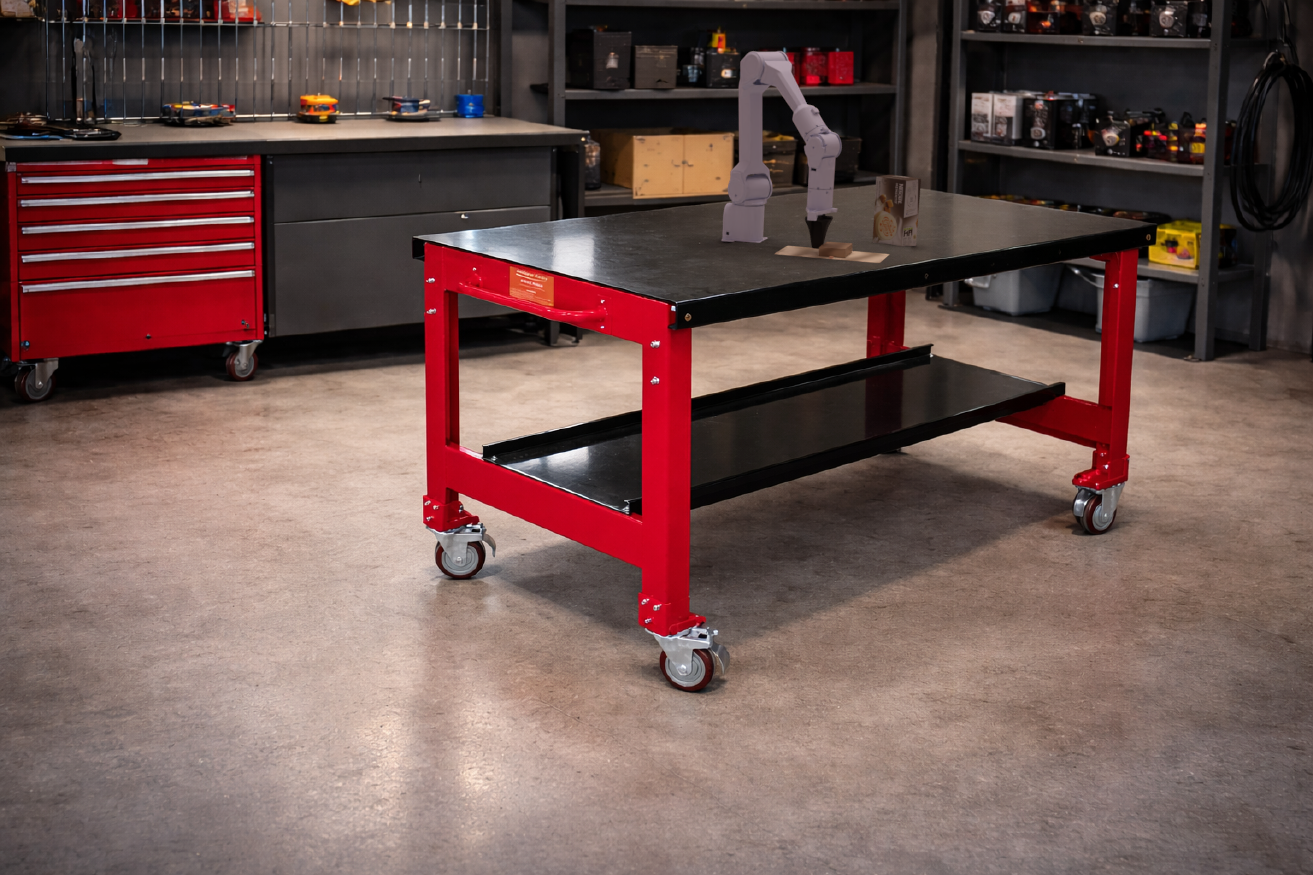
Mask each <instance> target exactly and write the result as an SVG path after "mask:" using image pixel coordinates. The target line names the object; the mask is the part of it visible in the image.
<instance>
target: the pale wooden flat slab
mask: <svg viewBox="0 0 1313 875" xmlns="http://www.w3.org/2000/svg"><path fill="white" fill-rule="evenodd" d="M774 255H780V256H790V257H803V258H814V259H827V260H838V261H839V260H840V261H850V262H863V263H871V264H881V263H882V262H883V261H884V260H885V259H886V258H887V257H888V256H890V254H889V253H880V252H868V251H857V250H856V251H855V250H854V251H853V250H852V253H850V254H849V255H848V256H847V257H845V258H840V257H834V256H830V257H825V256H819V249H814V248H812V247H808V246H807V247H805V246H794V245H787V246H784V247H783V248H781V249H780V250H778V251H776V252H775V253H774Z"/></svg>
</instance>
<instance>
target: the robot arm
mask: <svg viewBox="0 0 1313 875" xmlns="http://www.w3.org/2000/svg"><path fill="white" fill-rule="evenodd" d="M739 64H740V66H739V68H740V78H739V82H738V163H737V164H736V165H735V166H734V167H733V168H732V169H731V171H730V177H729V182H728V184H727V194H728V196H729V200H731V202H726V204H725V205H724V208H723V209H724V210H723V215H722V236H721V237H722V238H721V240H720V241H721V242H729V243H733V242H735V241H736V242H745V243H746V242H747V243H756V244H760V243H762V242H764V241H765V240H767V239H768V237H765V236H764V226H765V225H764V224H765V222H764V220H765V207H766V206H765V205H766V204H768V199H770V198H771V196H772V194H773V183H772V179H771V176H770V175H771V174H770V171H771V170H770V168H768V167H767V165H765V163H764V162H763V94H764V93H765V92H766V90H767V89H768V88H769V87H770V86H772V87H774V88H776V90H778V92H779V94H780V95H781V96H782V97H783V99H784V100H785V102H786V103H787V105H788V106H789V108H790V109H791V110H792V112H793V114H792V122H793V123H794V125H795V127H796V129H797V130H798V132H799V134H800V136H801V138H802V139H803V141H804V142H805V145H804V146H803V149H804V154H805V156H806V158H807V165H808V181H807V182H808V184H807V185H808V186H807V195H806V196H807V198H806V199H807V200H806V207H805V212H806V213H807V216H805V217H804V221H805V223H806V225H807V228H808V232H809V238H810V244H811V248H814V249H819V247H820V246H821V245H823V244H824V243H825V239H826V236H827V232H828V229H829V228H830V225H831V223H832V221H833V219H834V217H833V216H832V215H826V214H830V213H837V212H838V209H839V208H835V207H833V202H834V190H835V189H834V187H835V173H836V172H835V171H836V158H838V157H839V156H840V154H841V152H842V150H843V149H842V148H843V147H842V146H843V145H842V140H841V138H840V135H839V134H838V133H836V132H835V131H834V132H833V131H832V130H831V129H829V128H828V126H827V125H826V123H825V122H824V120H823V118H822V117H821V115H820V111H819V109H818V108H817V107H815V106H814V105H811V104H807V103H808V102H806V99H805V97H804V95H803V93H802V91H801V89H800V87H799V85H798V83H797V81H796V78H795V77H794V75H793V73H792V70H793V64H792V62H791V61H790V60H789V57H788V55H787V54H786V53H785V52H784V51H782V50H777V51H776V50H775V51H756V50H755V51H754V50H753V51H749V52H748V53H746V54H745V56H744V57H743V58H742V59H741V61H740V63H739Z"/></svg>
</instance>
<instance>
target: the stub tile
mask: <svg viewBox="0 0 1313 875" xmlns="http://www.w3.org/2000/svg"><path fill="white" fill-rule="evenodd" d="M852 251H853V243H851V242H837V241H835V242H834V241H826V242H824V244H823V245H821V246H820V247H819V256H825V257H830V256H834V257H840V258H845V257H847V256H848V255H849V254H850V253H852Z"/></svg>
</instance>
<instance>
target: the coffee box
mask: <svg viewBox="0 0 1313 875" xmlns="http://www.w3.org/2000/svg"><path fill="white" fill-rule="evenodd" d="M921 184H922V178H921V177H920V178H919V177H912V176H904V175H896V174H887V175H886V174H885V175H880V176H876V179H875V194H874V196H875V197H874V208H873V225H872V229H873V230H872V243H873V244H874V243H875V244H884V245H886V244H887V245H893V246H899V247H905V246H906V247H907V246H911V247H916V246H917V238H918V226H919V212H920V210H919V209H920V197H921ZM872 243H871V244H872Z"/></svg>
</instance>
